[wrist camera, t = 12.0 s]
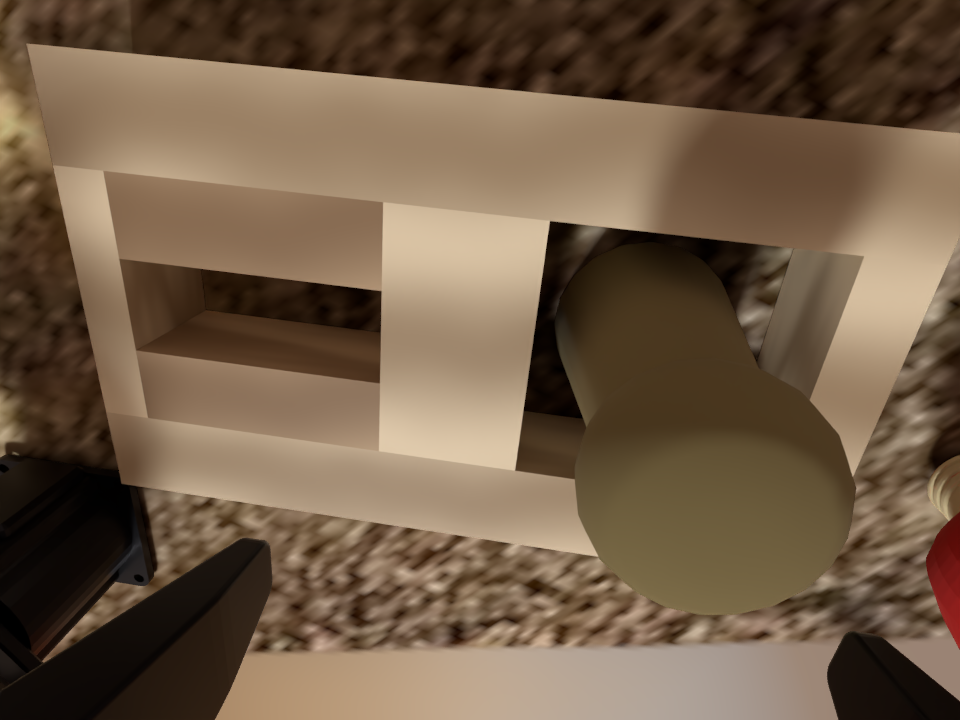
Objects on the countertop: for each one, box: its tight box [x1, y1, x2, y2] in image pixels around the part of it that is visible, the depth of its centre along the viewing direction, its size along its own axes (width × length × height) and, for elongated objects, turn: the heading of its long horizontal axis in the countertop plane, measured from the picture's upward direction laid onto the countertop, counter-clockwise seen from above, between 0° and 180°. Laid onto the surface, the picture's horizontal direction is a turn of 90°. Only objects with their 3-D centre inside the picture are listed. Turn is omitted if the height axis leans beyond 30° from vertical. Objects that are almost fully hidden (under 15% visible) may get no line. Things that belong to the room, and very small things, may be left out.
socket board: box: [27, 44, 960, 557], centre depth 18 cm, size 14×24×4 cm, turn 85°
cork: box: [554, 242, 856, 615], centre depth 15 cm, size 6×6×11 cm
